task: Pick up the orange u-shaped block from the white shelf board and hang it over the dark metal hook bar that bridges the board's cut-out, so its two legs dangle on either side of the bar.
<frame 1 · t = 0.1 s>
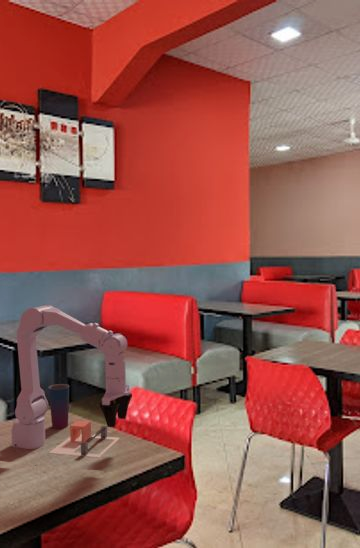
hand: (116, 422, 155), 10 cm above the table, tool pointing down, fingers open, 7 cm apart
orange u-shaped block: (80, 439, 166), point 1 cm above the table, touching shelf board
cup: (60, 431, 179), on the table
shelf board: (85, 449, 161), on the table
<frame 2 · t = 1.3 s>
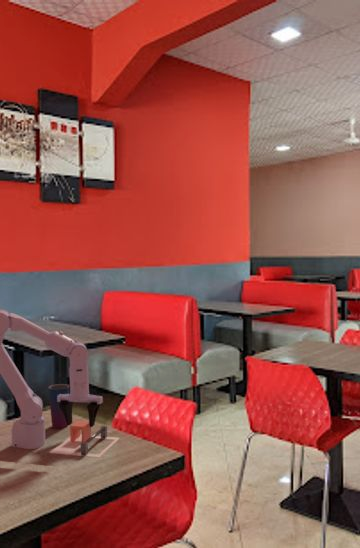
hand: (80, 425, 165), 6 cm above the table, tool pointing down, fingers open, 7 cm apart
nothing on the table moved.
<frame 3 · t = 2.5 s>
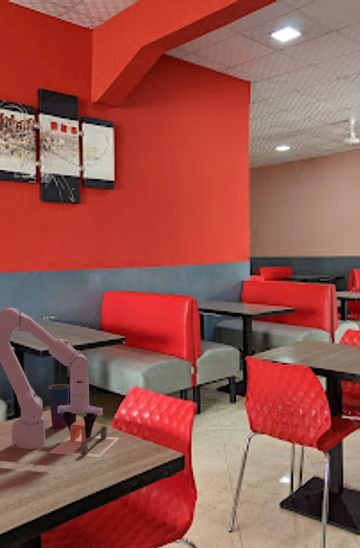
hand: (80, 436, 166), 2 cm above the table, tool pointing down, fingers closed on orange u-shaped block, 5 cm apart
orange u-shaped block: (80, 439, 166), point 1 cm above the table, touching gripper, shelf board
everything else where it was.
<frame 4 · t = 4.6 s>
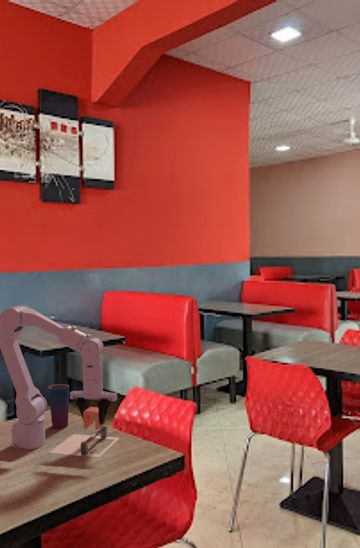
hand: (94, 423, 160), 8 cm above the table, tool pointing down, fingers closed on orange u-shaped block, 5 cm apart
orange u-shaped block: (94, 426, 160), point 7 cm above the table, touching gripper
everything else where it was.
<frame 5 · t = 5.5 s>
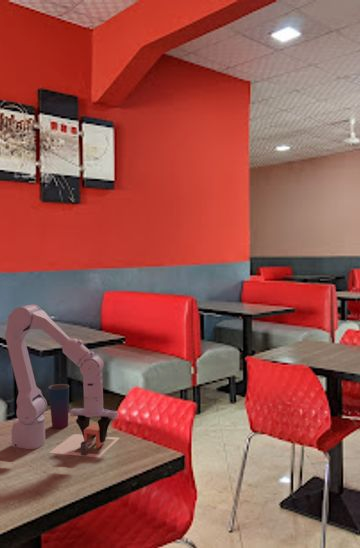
hand: (94, 440, 160), 3 cm above the table, tool pointing down, fingers closed on orange u-shaped block, 5 cm apart
orange u-shaped block: (94, 443, 160), point 2 cm above the table, touching gripper
everything else where it was.
when the fingers open (3 cm above the table, at t = 6.4 s): orange u-shaped block stays where it is, resting on shelf board.
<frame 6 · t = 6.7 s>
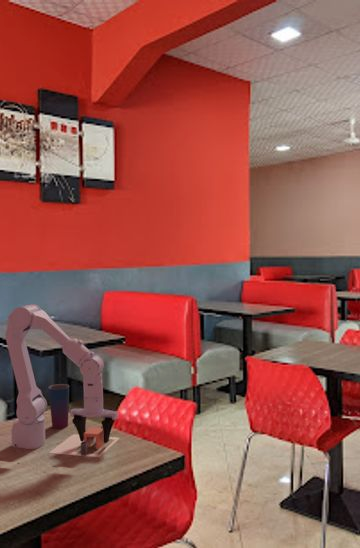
hand: (94, 441, 160), 3 cm above the table, tool pointing down, fingers open, 7 cm apart
orange u-shaped block: (94, 447, 160), point 1 cm above the table, touching shelf board
everything else where it was.
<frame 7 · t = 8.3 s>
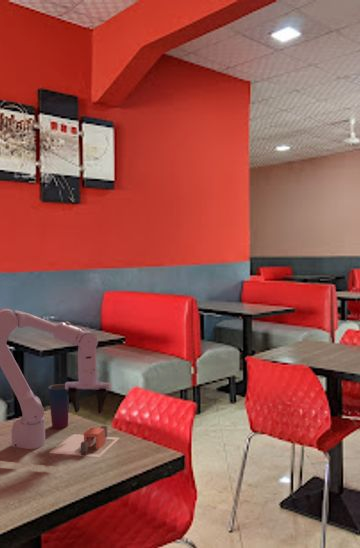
hand: (88, 411, 168), 9 cm above the table, tool pointing down, fingers open, 7 cm apart
nothing on the table moved.
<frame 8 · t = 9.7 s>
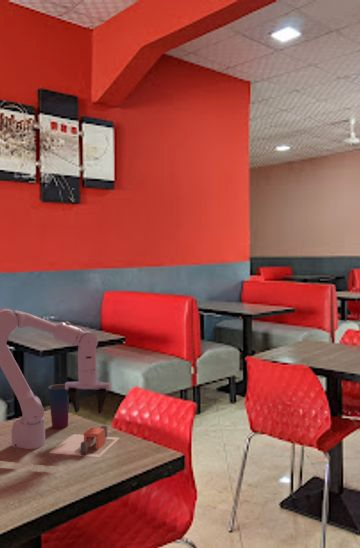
hand: (88, 411, 168), 9 cm above the table, tool pointing down, fingers open, 7 cm apart
nothing on the table moved.
at the end: orange u-shaped block 0.1 cm from the target spot on the shelf board, point 1.0 cm above the shelf board's base; orange u-shaped block tilted 0°; orange u-shaped block touching shelf board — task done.
